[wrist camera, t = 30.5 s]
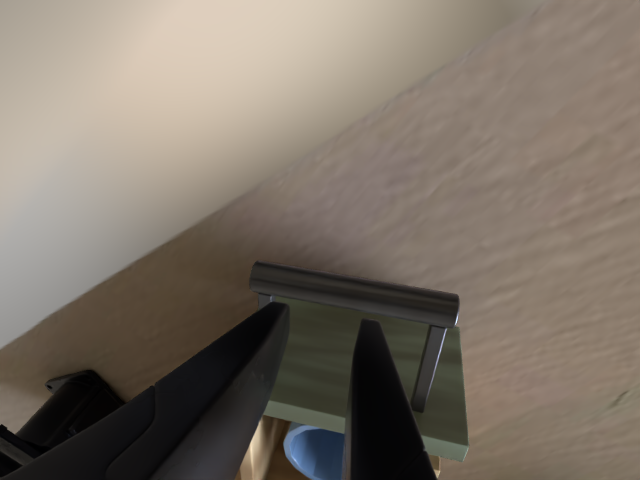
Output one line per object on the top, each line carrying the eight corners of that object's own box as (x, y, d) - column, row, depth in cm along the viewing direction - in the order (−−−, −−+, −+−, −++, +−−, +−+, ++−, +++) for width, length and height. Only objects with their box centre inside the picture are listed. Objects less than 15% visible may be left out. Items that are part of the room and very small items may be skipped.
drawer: (263, 195, 22) (198, 275, 16) (489, 227, 20) (514, 333, 14) (270, 410, 31) (231, 512, 25) (423, 446, 29) (421, 566, 23)
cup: (291, 360, 26) (265, 430, 22) (372, 343, 24) (360, 418, 20) (330, 417, 28) (312, 491, 24) (408, 407, 26) (403, 487, 22)
